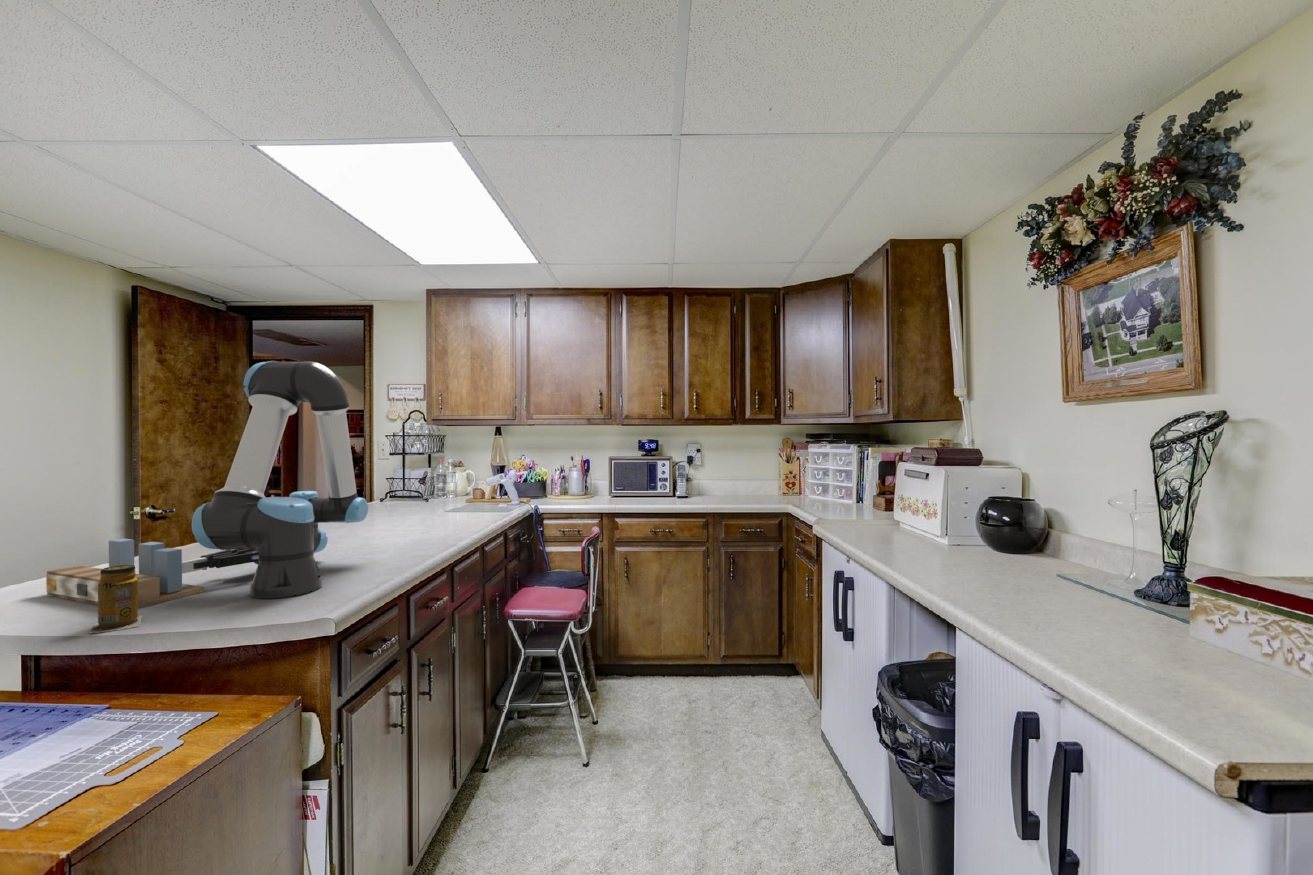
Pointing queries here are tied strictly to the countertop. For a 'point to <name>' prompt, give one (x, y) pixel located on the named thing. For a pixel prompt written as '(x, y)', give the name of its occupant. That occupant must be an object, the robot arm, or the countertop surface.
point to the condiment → (117, 599)
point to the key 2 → (169, 569)
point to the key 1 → (121, 552)
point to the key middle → (148, 557)
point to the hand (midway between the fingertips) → (176, 568)
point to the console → (85, 580)
